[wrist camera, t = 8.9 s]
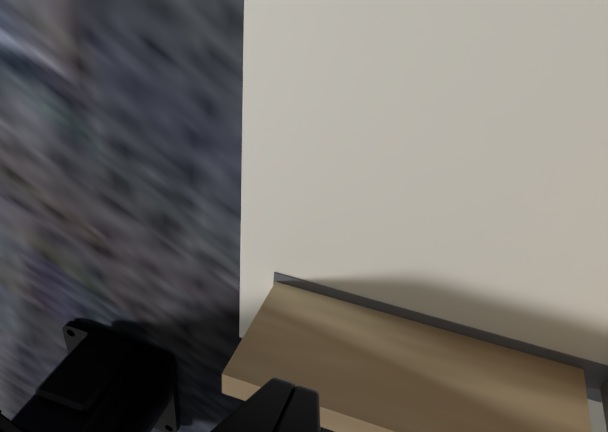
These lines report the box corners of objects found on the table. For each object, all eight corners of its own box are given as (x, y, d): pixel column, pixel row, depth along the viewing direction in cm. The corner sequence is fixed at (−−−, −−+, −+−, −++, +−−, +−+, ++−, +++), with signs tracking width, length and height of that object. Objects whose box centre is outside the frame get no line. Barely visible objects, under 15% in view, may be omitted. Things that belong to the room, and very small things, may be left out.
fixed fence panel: (640, 410, 20) (679, 586, 15) (274, 303, 23) (210, 419, 18) (659, 382, 19) (708, 559, 14) (276, 274, 22) (209, 388, 17)
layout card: (815, 504, 20) (823, 521, 20) (244, 327, 25) (238, 337, 25) (1490, -68, 9) (1549, -64, 9) (255, -176, 14) (245, -178, 14)
